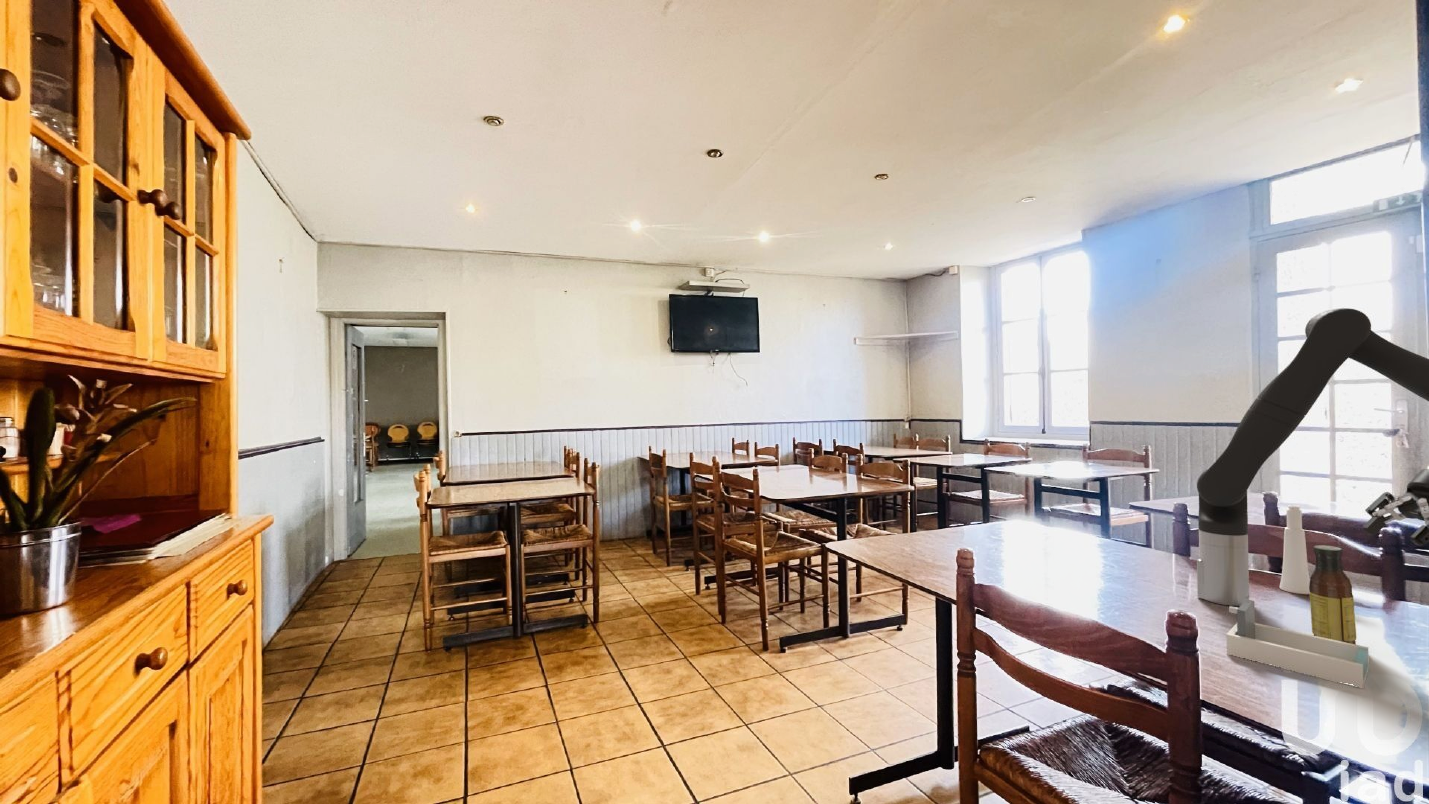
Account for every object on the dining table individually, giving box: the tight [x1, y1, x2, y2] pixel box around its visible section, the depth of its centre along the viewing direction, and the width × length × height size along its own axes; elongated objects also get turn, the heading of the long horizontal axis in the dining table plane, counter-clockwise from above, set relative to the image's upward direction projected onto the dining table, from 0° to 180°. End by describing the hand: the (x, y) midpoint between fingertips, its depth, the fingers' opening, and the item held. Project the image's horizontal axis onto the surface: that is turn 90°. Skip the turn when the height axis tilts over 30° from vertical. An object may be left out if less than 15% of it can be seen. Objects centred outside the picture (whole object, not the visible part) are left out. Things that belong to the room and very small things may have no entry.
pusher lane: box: [1225, 622, 1370, 690], centre depth 111 cm, size 18×12×4 cm, turn 38°
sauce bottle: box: [1308, 545, 1357, 645], centre depth 118 cm, size 7×6×20 cm
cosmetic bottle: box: [1279, 504, 1310, 595], centre depth 149 cm, size 6×6×22 cm
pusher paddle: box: [1228, 599, 1256, 639], centre depth 117 cm, size 3×9×8 cm, turn 128°
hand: (1390, 537), depth 117 cm, fingers open, 8 cm apart
